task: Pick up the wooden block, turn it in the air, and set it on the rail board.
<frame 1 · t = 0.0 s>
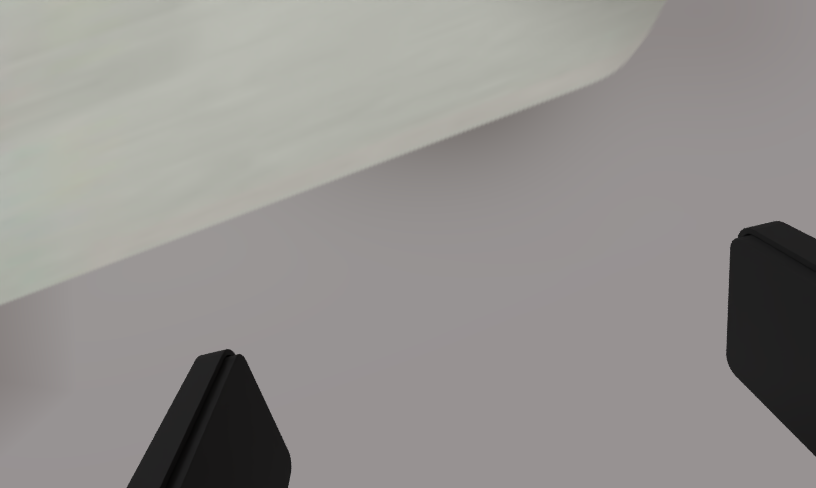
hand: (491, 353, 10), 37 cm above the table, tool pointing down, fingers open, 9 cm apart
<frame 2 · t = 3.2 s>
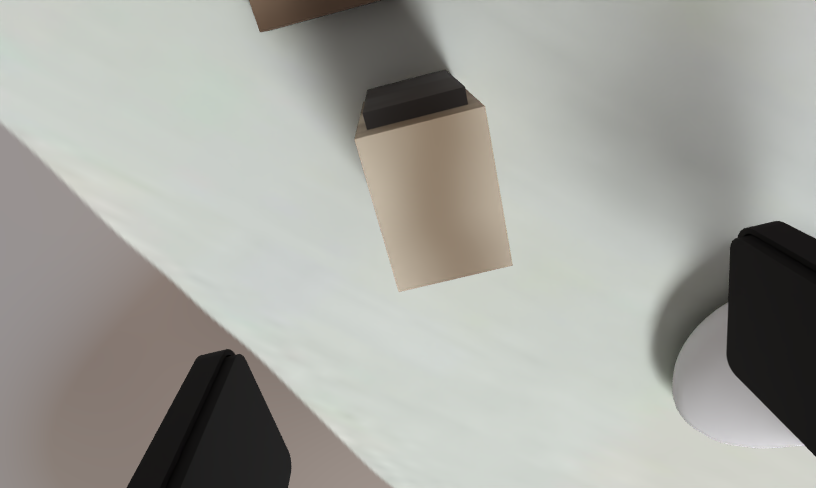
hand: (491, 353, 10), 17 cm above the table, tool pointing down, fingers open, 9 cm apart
wooden block: (422, 150, 25), on the table
flower in vase: (749, 358, 31), on the table
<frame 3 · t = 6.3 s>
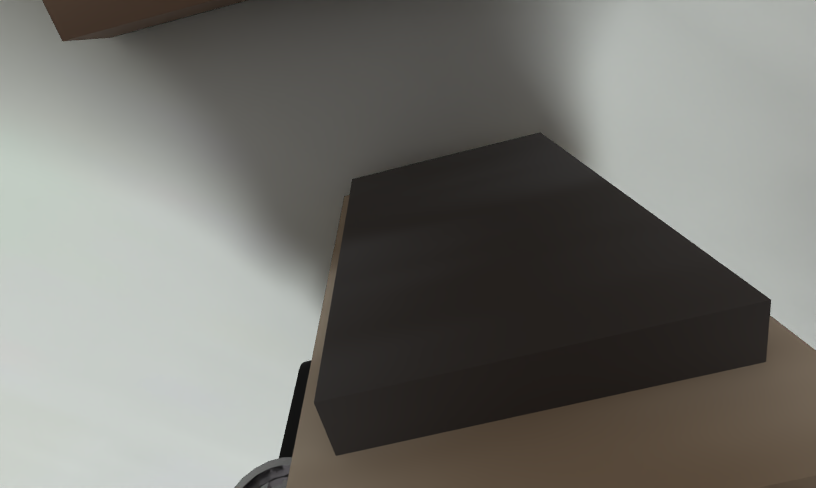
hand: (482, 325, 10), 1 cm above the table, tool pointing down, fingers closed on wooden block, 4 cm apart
wooden block: (471, 291, 12), on the table, touching gripper
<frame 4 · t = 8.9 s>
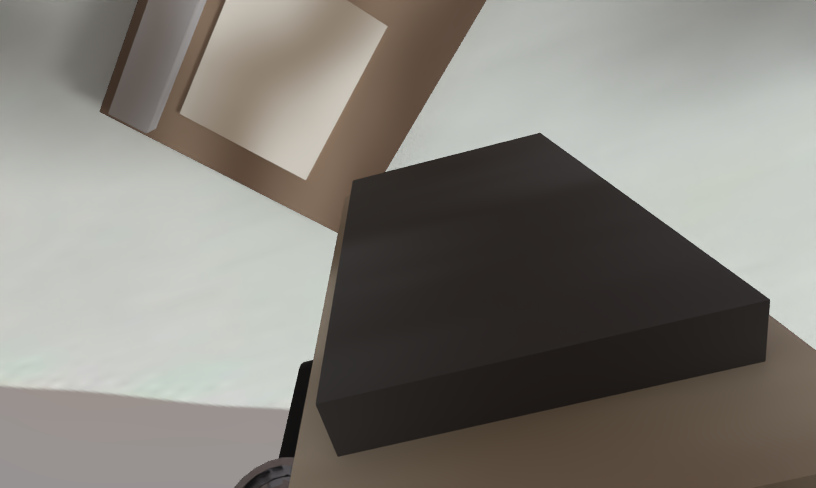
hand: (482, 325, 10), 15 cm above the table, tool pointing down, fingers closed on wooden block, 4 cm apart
wooden block: (472, 291, 12), point 14 cm above the table, touching gripper
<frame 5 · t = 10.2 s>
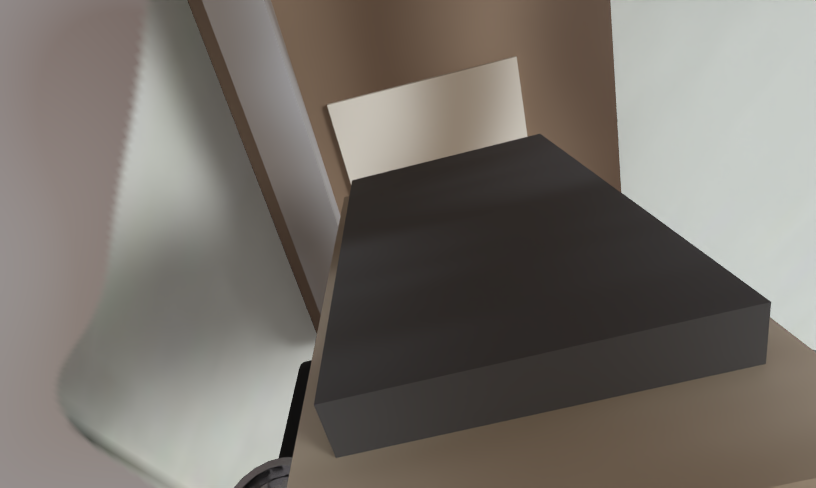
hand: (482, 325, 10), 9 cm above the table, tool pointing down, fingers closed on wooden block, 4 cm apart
wooden block: (471, 292, 12), point 8 cm above the table, touching gripper
when the fingers open (4 cm above the table, at t = 11.6 s): wooden block stays where it is, resting on rail board.
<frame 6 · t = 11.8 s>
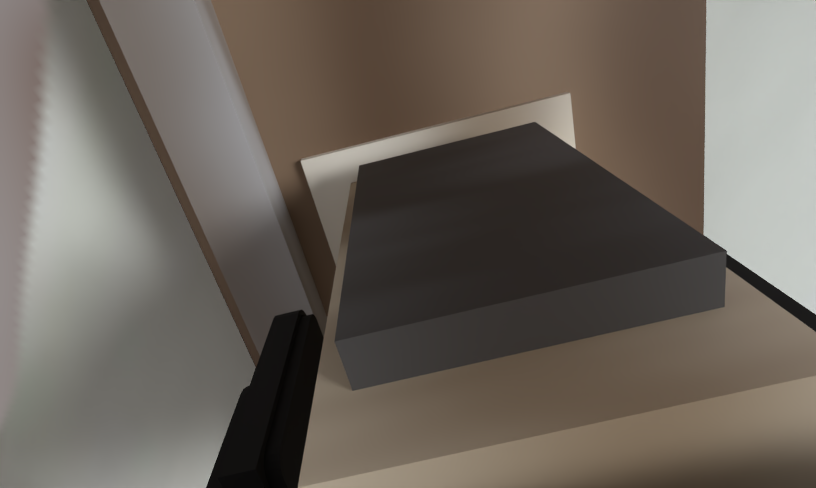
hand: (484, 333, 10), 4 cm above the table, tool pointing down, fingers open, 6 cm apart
wooden block: (470, 274, 12), point 2 cm above the table, touching rail board
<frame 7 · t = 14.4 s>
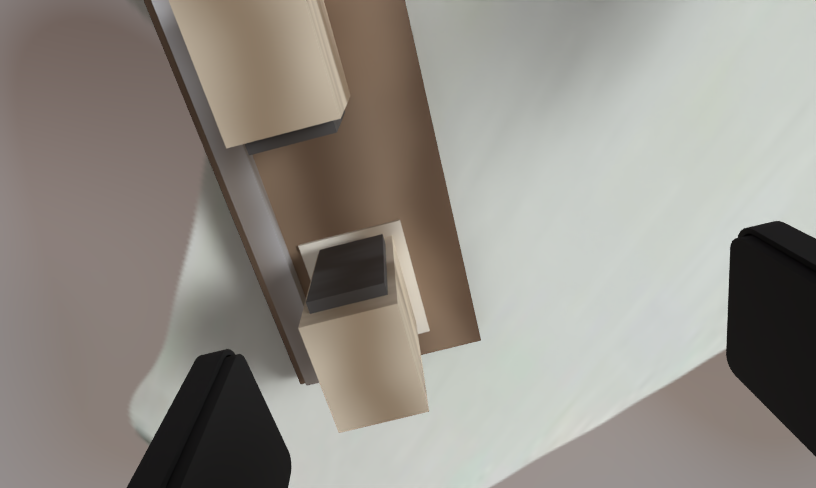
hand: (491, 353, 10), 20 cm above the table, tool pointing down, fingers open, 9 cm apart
wooden block: (368, 289, 30), point 2 cm above the table, touching rail board
rail board: (334, 172, 29), on the table
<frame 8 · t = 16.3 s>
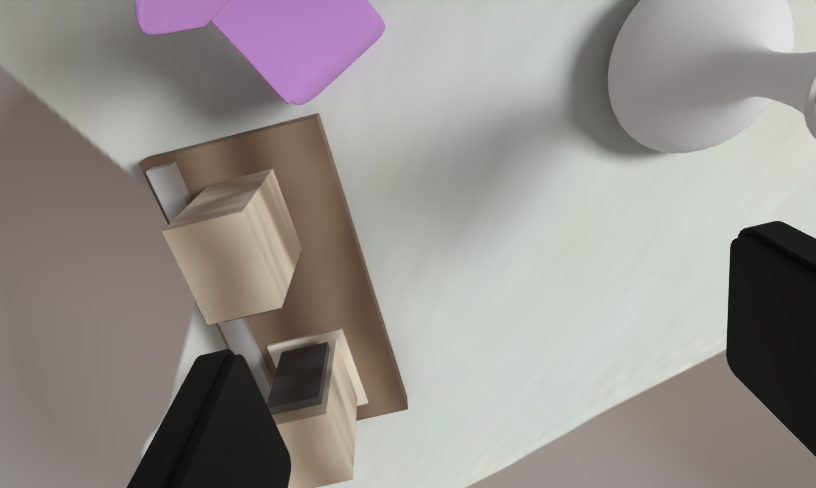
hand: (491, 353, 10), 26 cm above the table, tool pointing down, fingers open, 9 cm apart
wooden block: (320, 375, 40), point 2 cm above the table, touching rail board
toy chair: (302, 3, 31), on the table
rail board: (293, 291, 39), on the table
flower in vase: (693, 56, 33), on the table
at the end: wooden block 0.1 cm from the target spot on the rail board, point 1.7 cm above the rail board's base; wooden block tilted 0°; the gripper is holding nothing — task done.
